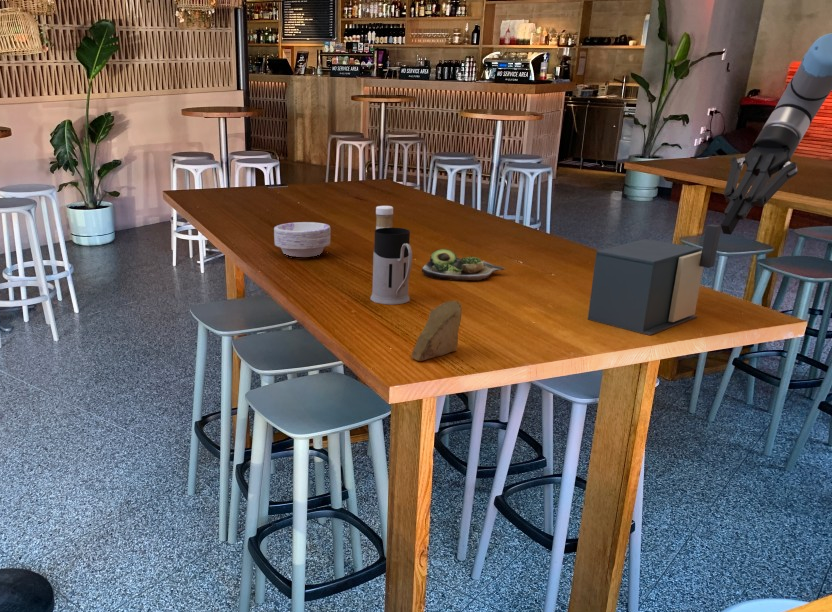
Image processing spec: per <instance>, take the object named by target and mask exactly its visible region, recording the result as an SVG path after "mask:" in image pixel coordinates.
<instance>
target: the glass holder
mask: <svg viewBox="0 0 832 612" xmlns="http://www.w3.org/2000/svg"><path fill="white" fill-rule="evenodd" d="M410 237H411V231H410V230H409V229H407V228H402V227H392V228H380V229H376V228H375V230H374V241H373V242H374V244H373V246H374V247H373V254H372V256H373V257H372V292H371V296H370V298H369V299H370V301H372V302H373V303H375V304H379V305H381V304H382V305H402V304H407V303H408V302H410V300H411V298H410V295H409V286H410V285H409V284H410V283H409V281H410V275H411V271H412V264H413V251H412V247H411V245H410V239H411V238H410Z"/></svg>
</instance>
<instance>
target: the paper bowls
mask: <svg viewBox="0 0 832 612" xmlns="http://www.w3.org/2000/svg"><path fill="white" fill-rule="evenodd" d="M273 237H274V239H273V240H274V242H273V243H274V246H275V247H278V248H280V249H281V251H282V253H283V255H284V254H286V255H289V256H296V257H310V256H317V255H319V256H320V254H321V253H322V254H323V251H324V250H325V247H328V246H330V245H331V226H330V225H329V224H327V223H322V222H314V221H301V222H299V221H298V222H287V223H281V224H278V225H276V226H274V228H273ZM322 254H321V255H322ZM286 255H285V256H286ZM317 257H318V256H317Z"/></svg>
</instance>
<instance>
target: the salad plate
mask: <svg viewBox="0 0 832 612" xmlns="http://www.w3.org/2000/svg"><path fill="white" fill-rule="evenodd" d="M504 270H506V268H505V267H503V266H498V265H494V264H492V263H490V262H488V261H485V259H483V260H481V257H475V256H466V257H462V258H458V257H457V254H456V253H455V252H453V250H450V249H446V248H441V249H436V250H435V251H433V252H432V253H431V254H430V259H429V261H428V262H427V263H425V264H424V266H423V267H422V268H421V272H422V273H423V274H424V276H426V277H427V276H429V277H428V278H430V277H433V278H432V279H435V278H440V279H439V280H447V279H452V280H451V281H466V280H477V281H483V280H482V279H484V280H487V279H488V278H489V277H490V276H491V275H492V274H493V273H494V272H498V271H504ZM486 278H487V279H486Z"/></svg>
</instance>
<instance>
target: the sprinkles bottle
mask: <svg viewBox="0 0 832 612" xmlns="http://www.w3.org/2000/svg"><path fill="white" fill-rule="evenodd" d="M393 215H394V207H393V206H391V205H377V206H376V207H375V216H376V217H375V218H376V220H375V230H376V229H380V228H393V217H394V216H393Z"/></svg>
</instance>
